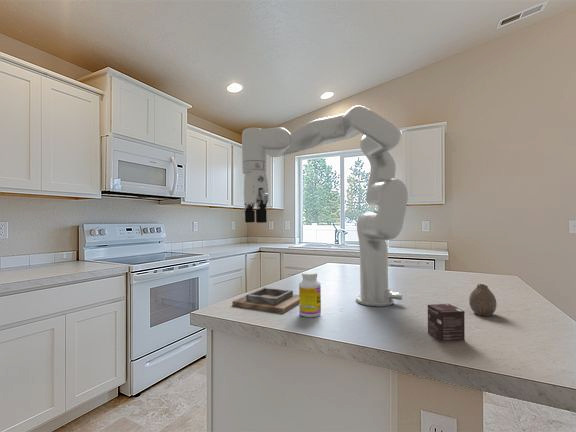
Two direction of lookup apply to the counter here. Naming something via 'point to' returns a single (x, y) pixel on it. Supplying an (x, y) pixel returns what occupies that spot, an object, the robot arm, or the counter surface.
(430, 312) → the box
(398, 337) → the counter surface
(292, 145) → the robot arm
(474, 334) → the counter surface
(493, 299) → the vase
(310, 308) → the supplement bottle
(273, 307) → the board
